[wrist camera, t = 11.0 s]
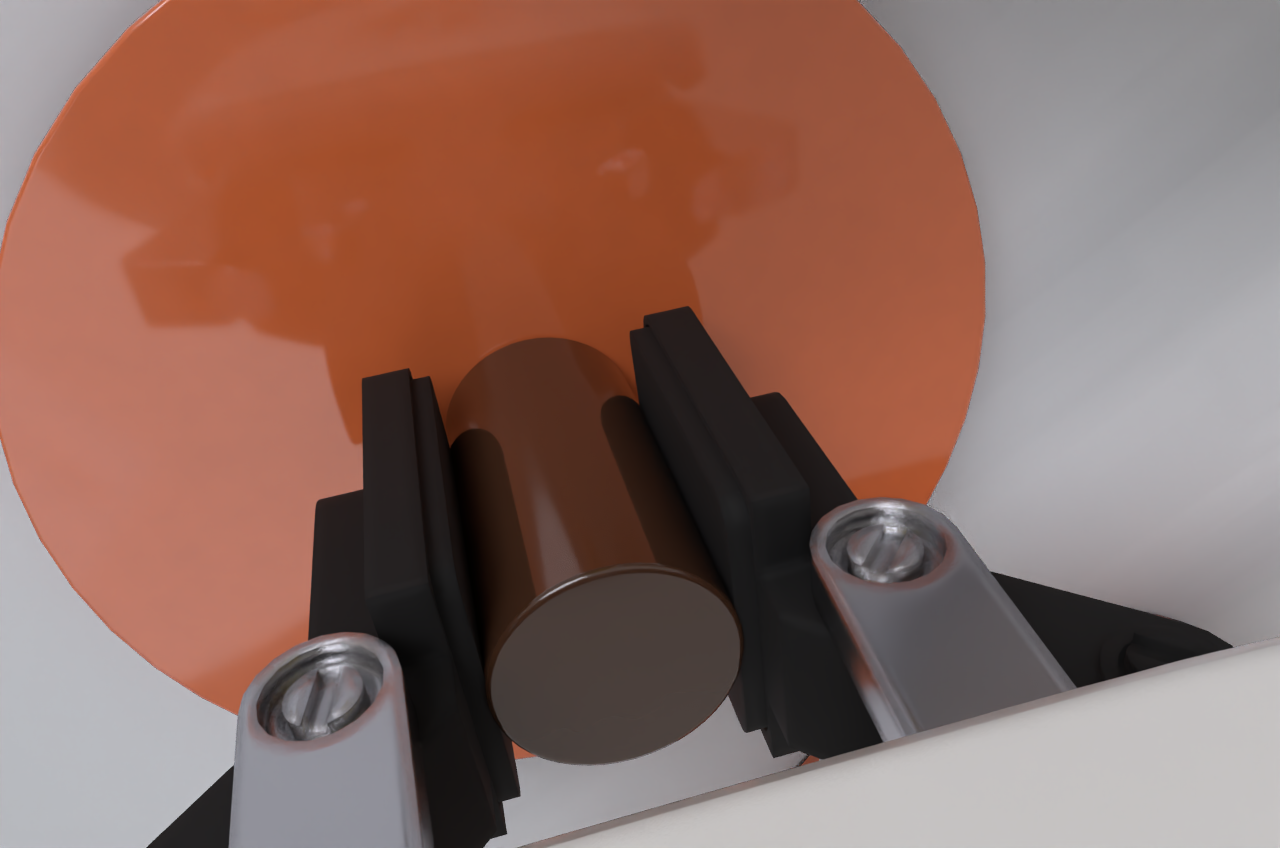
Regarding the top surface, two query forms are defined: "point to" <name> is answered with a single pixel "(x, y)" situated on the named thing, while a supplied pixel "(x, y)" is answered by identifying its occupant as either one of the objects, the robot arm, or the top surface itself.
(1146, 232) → the top surface
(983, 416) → the top surface
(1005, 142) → the top surface
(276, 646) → the lid
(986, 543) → the top surface
